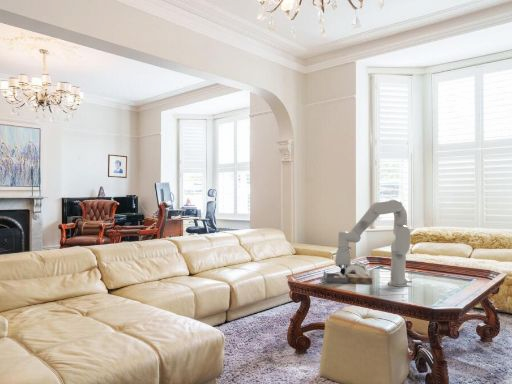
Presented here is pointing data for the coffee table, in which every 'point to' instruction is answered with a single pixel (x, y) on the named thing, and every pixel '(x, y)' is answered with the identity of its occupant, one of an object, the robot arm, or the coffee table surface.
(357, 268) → the mask
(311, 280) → the coffee table surface
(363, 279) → the plate
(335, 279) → the box
